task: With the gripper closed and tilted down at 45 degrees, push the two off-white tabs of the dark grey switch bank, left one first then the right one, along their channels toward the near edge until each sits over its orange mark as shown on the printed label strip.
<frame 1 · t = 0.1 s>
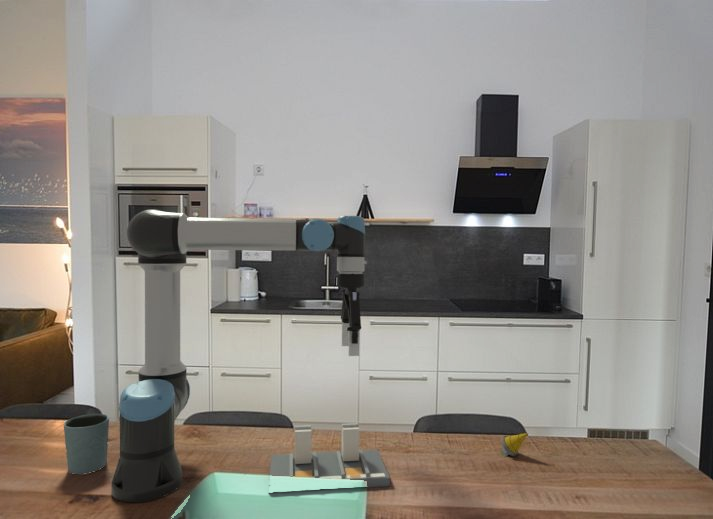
hand: (350, 350, 131), 28 cm above the table, fingers open, 13 cm apart
switch bank: (327, 473, 118), on the table
tab left: (302, 443, 120), point 7 cm above the table, slide at 0.0 cm
tab right: (350, 440, 122), point 7 cm above the table, slide at 0.0 cm
yellow spinning top: (513, 455, 130), on the table
teal cup: (87, 468, 121), on the table
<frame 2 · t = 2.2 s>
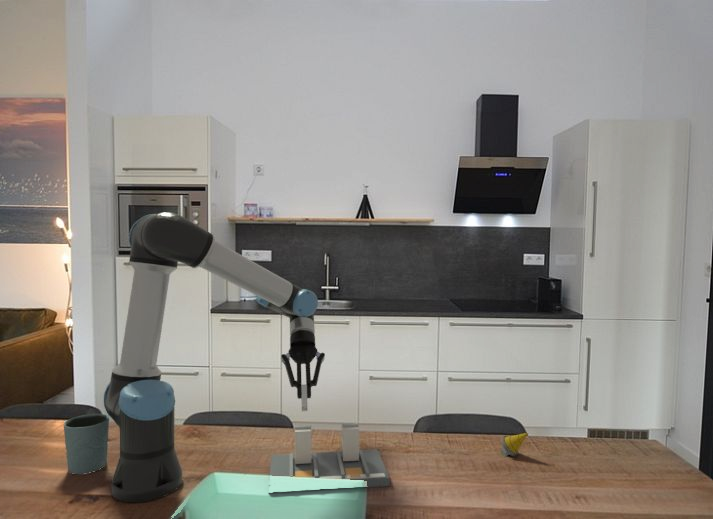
hand: (304, 408, 130), 12 cm above the table, fingers closed
nothing on the table moved.
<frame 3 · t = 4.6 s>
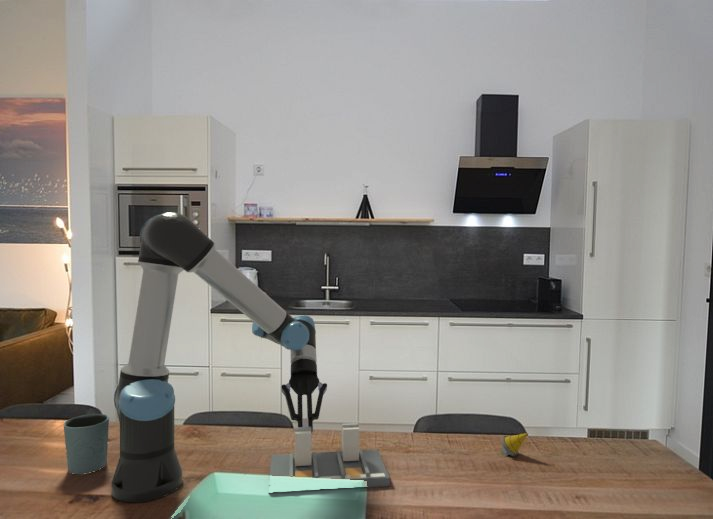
hand: (305, 444, 123), 5 cm above the table, fingers closed
tab left: (303, 444, 119), point 7 cm above the table, slide at 1.2 cm, touching gripper
everything else where it was.
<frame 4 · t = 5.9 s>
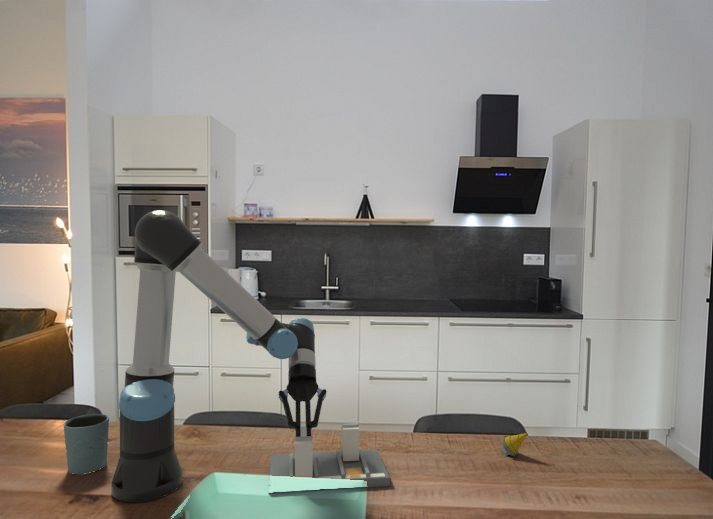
hand: (303, 454, 116), 6 cm above the table, fingers closed
tab left: (303, 455, 113), point 7 cm above the table, slide at 7.3 cm, touching gripper
everything else where it was.
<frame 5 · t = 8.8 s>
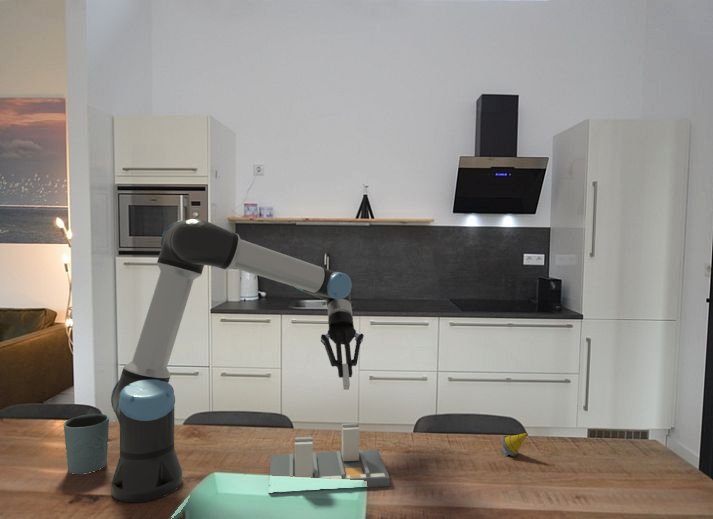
hand: (346, 387, 131), 18 cm above the table, fingers closed
tab left: (303, 456, 113), point 7 cm above the table, slide at 7.7 cm
everything else where it was.
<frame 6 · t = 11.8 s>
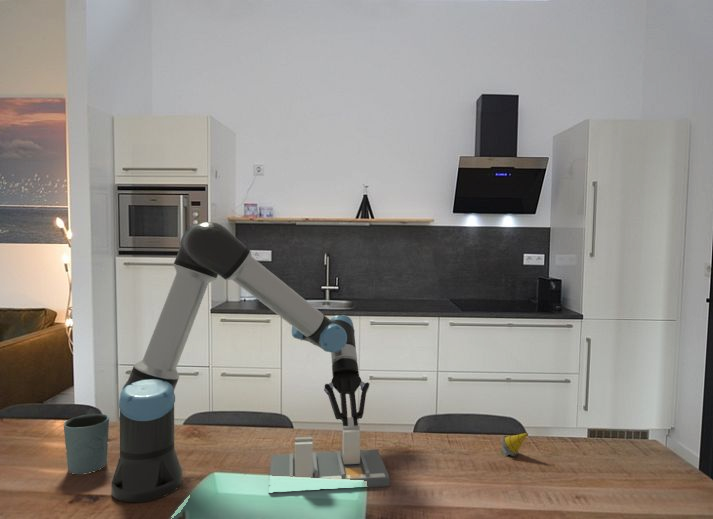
hand: (352, 443, 124), 5 cm above the table, fingers closed
tab right: (351, 443, 120), point 7 cm above the table, slide at 1.7 cm, touching gripper
everything else where it was.
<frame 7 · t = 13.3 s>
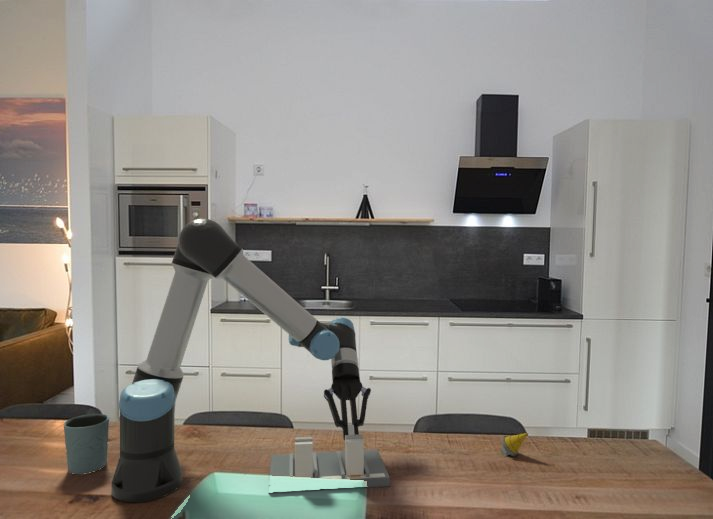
hand: (352, 452, 118), 6 cm above the table, fingers closed
tab right: (354, 453, 114), point 7 cm above the table, slide at 7.6 cm, touching gripper
everything else where it was.
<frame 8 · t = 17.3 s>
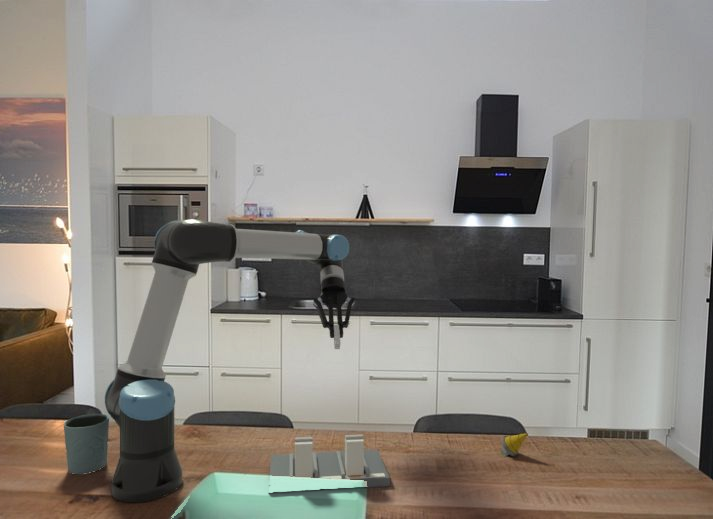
hand: (337, 346, 135), 28 cm above the table, fingers closed
tab right: (354, 453, 114), point 7 cm above the table, slide at 7.7 cm
everything else where it was.
at the end: tab left slide at 7.7 cm; tab right slide at 7.7 cm; tab right touching nothing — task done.
